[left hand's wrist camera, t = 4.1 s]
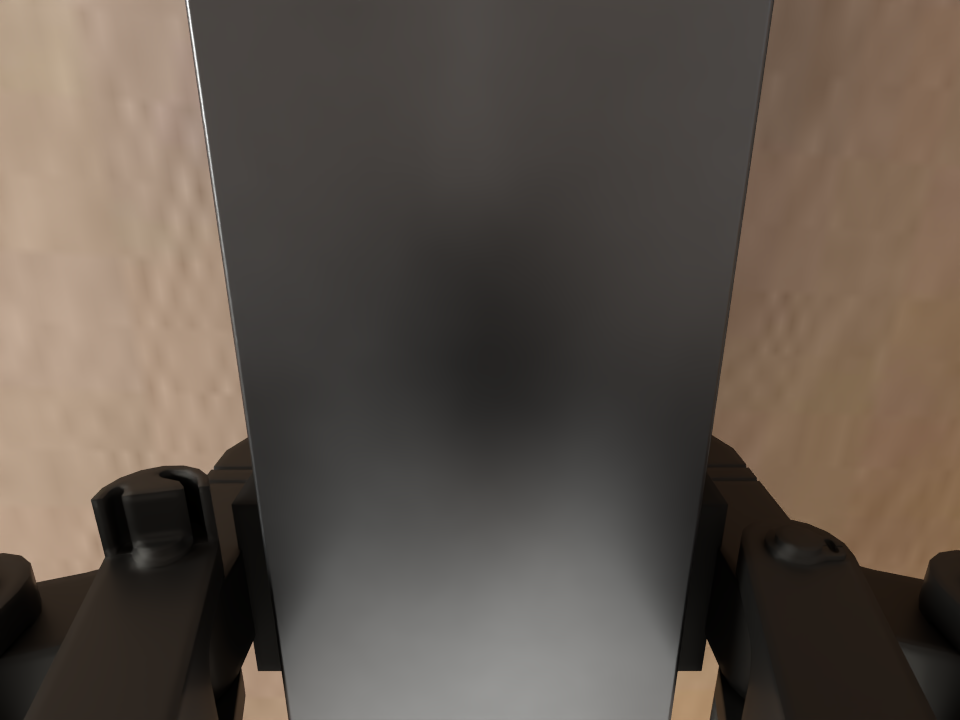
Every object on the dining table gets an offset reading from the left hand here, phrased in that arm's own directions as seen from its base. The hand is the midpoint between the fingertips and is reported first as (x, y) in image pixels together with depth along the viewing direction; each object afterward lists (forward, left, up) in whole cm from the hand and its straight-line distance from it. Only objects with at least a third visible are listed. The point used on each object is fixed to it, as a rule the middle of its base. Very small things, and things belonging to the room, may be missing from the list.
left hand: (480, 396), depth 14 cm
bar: (+9, +5, -1) cm, 10 cm away
